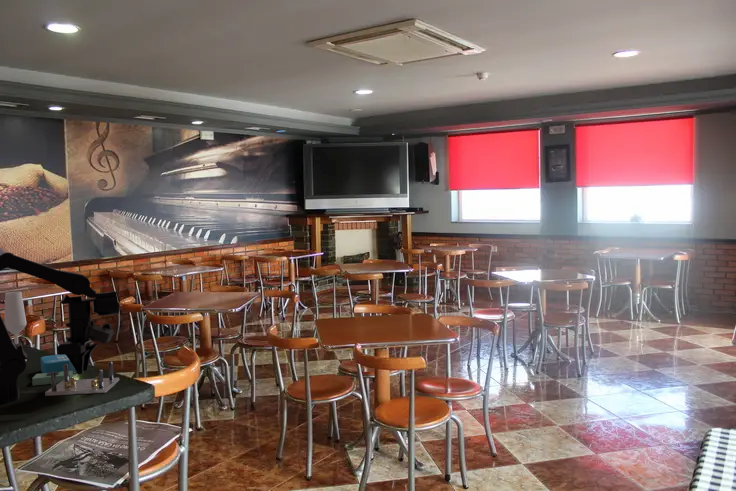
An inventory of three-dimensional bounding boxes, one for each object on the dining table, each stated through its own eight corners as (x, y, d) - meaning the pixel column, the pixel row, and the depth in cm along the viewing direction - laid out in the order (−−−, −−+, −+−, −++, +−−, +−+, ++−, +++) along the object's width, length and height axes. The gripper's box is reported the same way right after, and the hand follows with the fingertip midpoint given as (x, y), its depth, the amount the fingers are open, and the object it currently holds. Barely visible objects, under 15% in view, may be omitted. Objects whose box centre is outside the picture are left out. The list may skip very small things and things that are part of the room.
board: (70, 383, 182) (69, 373, 181) (32, 387, 178) (32, 377, 178) (73, 378, 187) (72, 369, 187) (36, 382, 184) (36, 372, 184)
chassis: (105, 392, 169) (104, 371, 169) (45, 395, 167) (44, 374, 167) (119, 380, 181) (118, 360, 181) (63, 383, 179) (61, 363, 179)
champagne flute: (33, 360, 211) (29, 291, 210) (16, 365, 205) (12, 293, 203) (18, 359, 213) (14, 291, 212) (1, 364, 207) (-3, 293, 205)
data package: (80, 351, 202) (87, 357, 192) (81, 364, 203) (87, 371, 193) (39, 356, 196) (44, 363, 186) (40, 370, 196) (45, 378, 186)
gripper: (97, 322, 165) (100, 379, 165) (119, 311, 183) (122, 363, 184) (54, 324, 164) (57, 381, 164) (81, 313, 182) (83, 364, 183)
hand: (82, 372), depth 174 cm, fingers open, 3 cm apart
